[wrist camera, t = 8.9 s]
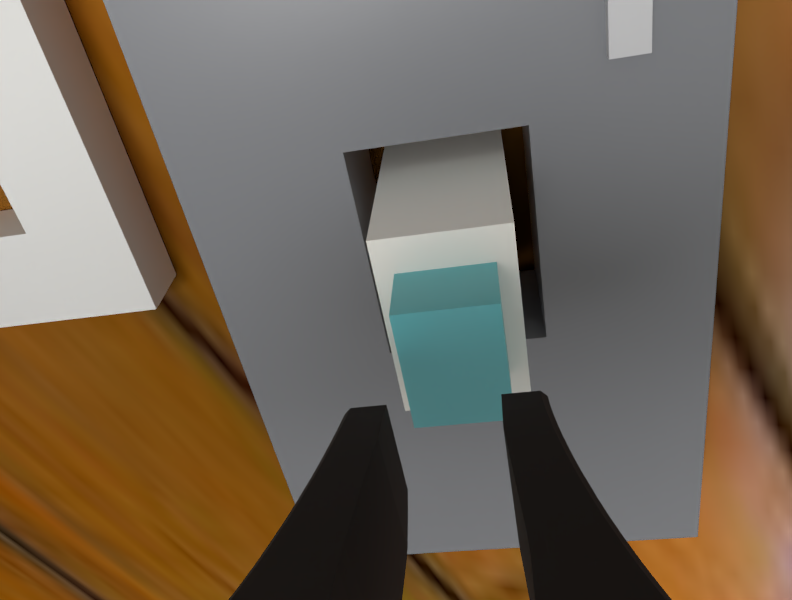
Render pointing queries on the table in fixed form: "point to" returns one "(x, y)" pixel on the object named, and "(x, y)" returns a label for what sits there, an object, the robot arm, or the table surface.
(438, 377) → the plug
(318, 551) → the robot arm
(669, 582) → the table surface
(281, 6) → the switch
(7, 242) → the square frame
